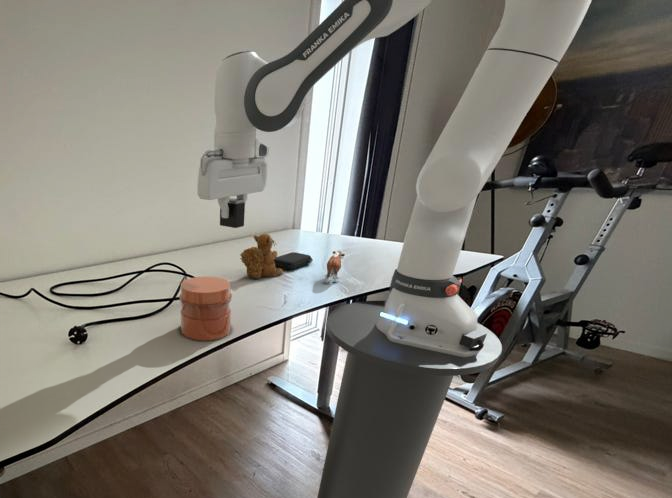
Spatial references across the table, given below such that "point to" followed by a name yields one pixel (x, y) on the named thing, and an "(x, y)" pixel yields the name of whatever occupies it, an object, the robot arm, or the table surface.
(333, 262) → the bull figurine
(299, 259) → the carrying case
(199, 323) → the orange short cylinder
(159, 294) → the table surface
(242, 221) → the black block
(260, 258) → the stuffed squirrel
